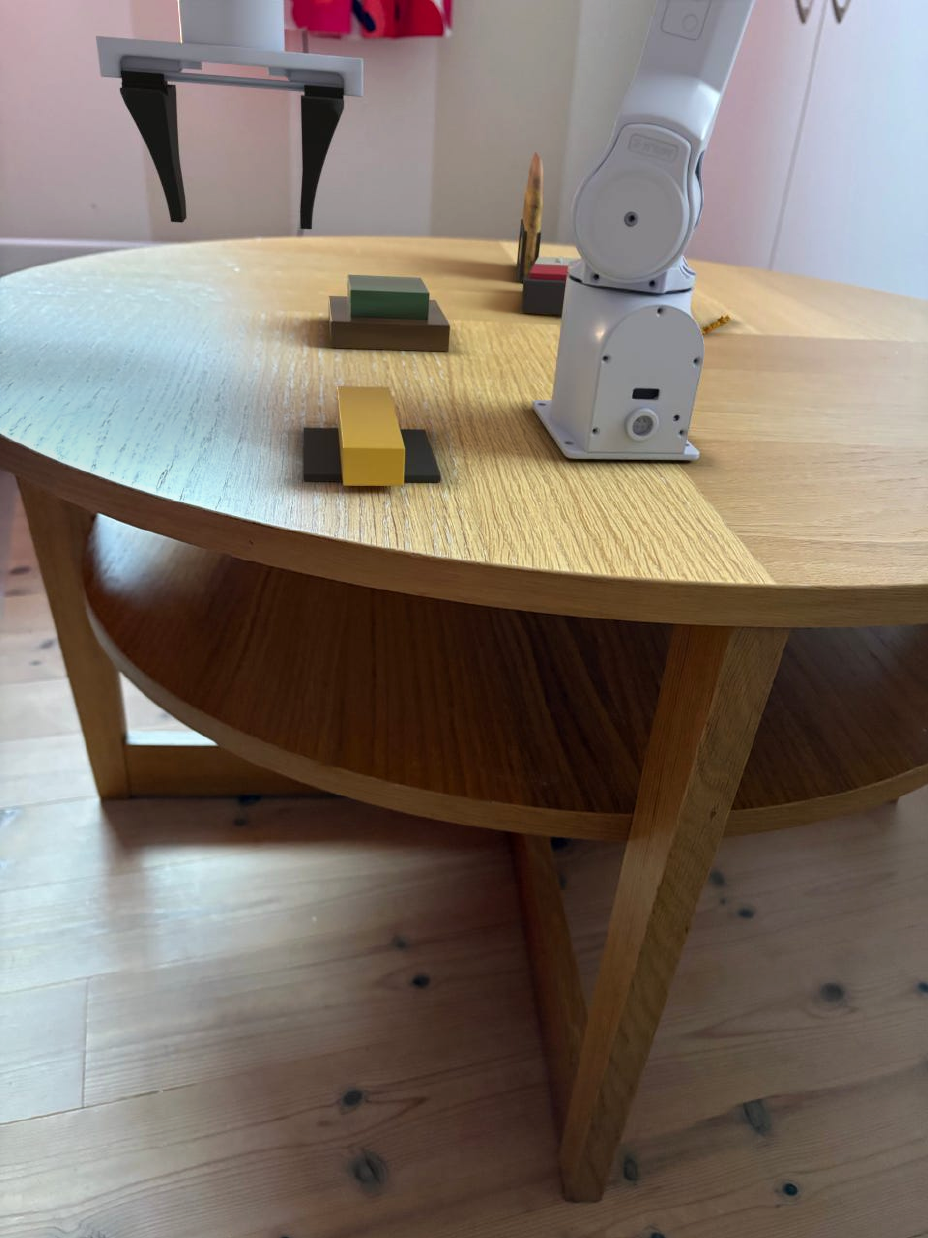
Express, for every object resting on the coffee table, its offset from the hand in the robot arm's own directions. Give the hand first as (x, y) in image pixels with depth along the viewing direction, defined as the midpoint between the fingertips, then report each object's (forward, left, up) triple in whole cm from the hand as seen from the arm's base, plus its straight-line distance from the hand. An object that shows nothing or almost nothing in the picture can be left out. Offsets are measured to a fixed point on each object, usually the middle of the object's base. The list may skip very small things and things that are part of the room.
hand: (243, 223), depth 55 cm
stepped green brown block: (+12, -10, -9) cm, 18 cm away
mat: (-15, -7, -9) cm, 19 cm away
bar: (-15, -7, -9) cm, 19 cm away
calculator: (+25, -32, -10) cm, 42 cm away
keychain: (+19, -41, -10) cm, 46 cm away
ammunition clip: (+42, -28, -10) cm, 51 cm away
